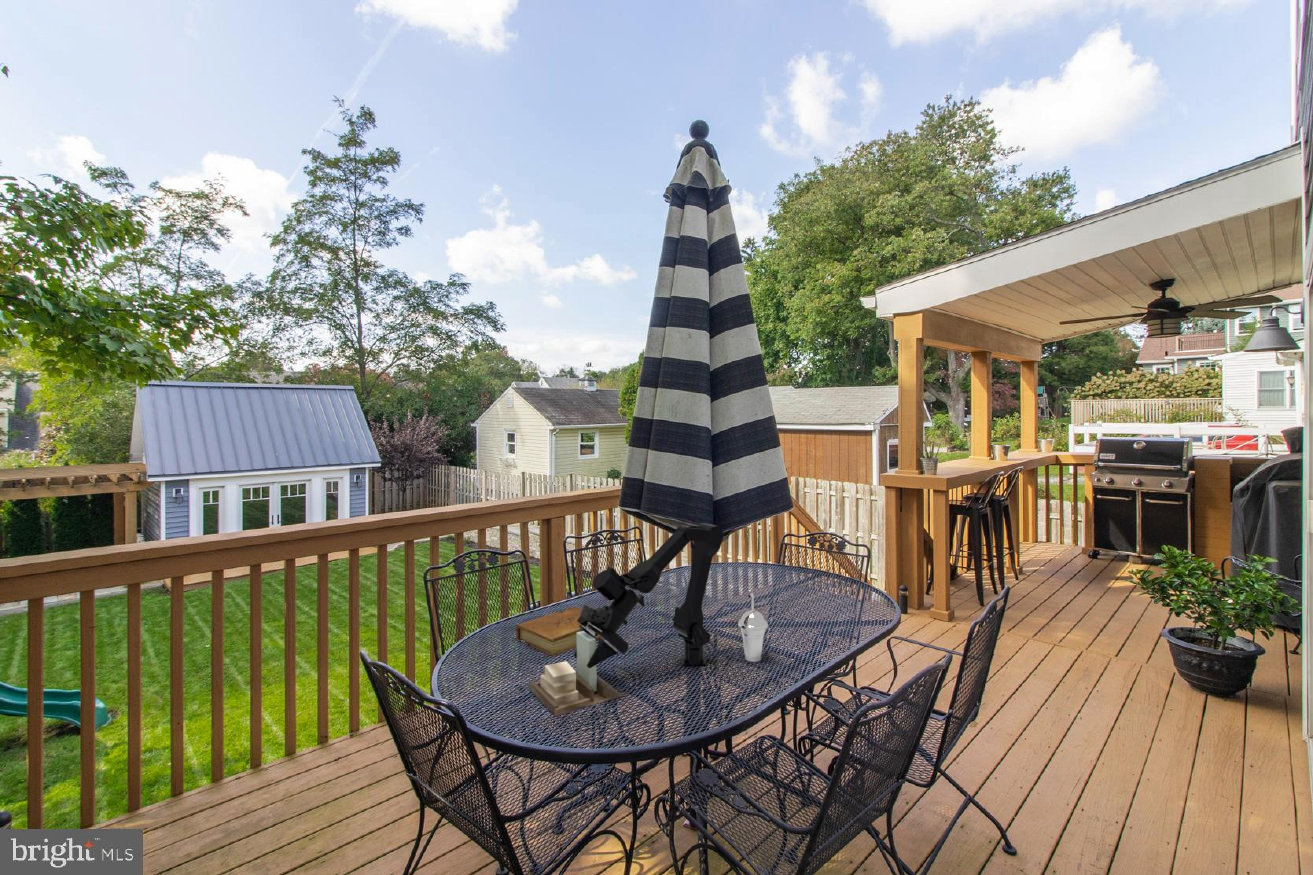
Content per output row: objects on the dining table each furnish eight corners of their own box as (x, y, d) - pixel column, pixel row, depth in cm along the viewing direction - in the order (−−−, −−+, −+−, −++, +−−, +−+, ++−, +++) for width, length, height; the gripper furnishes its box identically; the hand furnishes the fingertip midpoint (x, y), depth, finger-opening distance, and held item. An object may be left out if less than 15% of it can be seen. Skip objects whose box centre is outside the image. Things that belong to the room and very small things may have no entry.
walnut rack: (593, 675, 158) (593, 661, 158) (623, 698, 144) (622, 683, 144) (529, 692, 148) (529, 678, 148) (555, 719, 134) (555, 703, 134)
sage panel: (584, 680, 151) (583, 630, 151) (596, 690, 145) (595, 639, 145) (577, 682, 150) (576, 632, 150) (589, 692, 144) (588, 641, 144)
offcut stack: (564, 686, 149) (563, 659, 149) (579, 701, 142) (579, 671, 141) (539, 693, 145) (539, 665, 145) (554, 708, 138) (554, 678, 138)
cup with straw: (773, 658, 168) (773, 589, 167) (755, 667, 162) (754, 596, 161) (749, 650, 174) (749, 583, 173) (730, 659, 168) (730, 590, 167)
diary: (573, 622, 200) (573, 606, 200) (610, 636, 187) (610, 618, 187) (516, 641, 183) (515, 623, 183) (552, 657, 170) (552, 638, 170)
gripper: (583, 584, 157) (545, 633, 151) (617, 602, 141) (576, 657, 136) (609, 607, 161) (573, 656, 156) (645, 627, 146) (606, 682, 140)
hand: (581, 662), depth 147 cm, fingers closed on sage panel, 7 cm apart
